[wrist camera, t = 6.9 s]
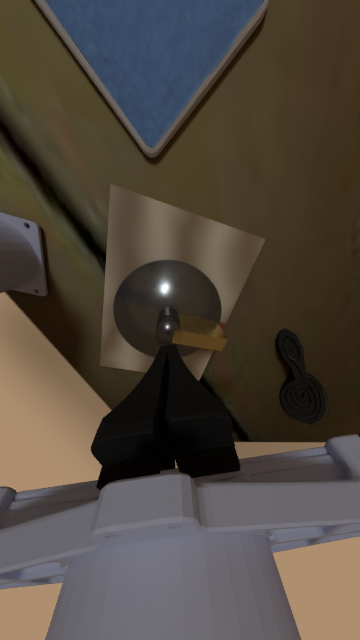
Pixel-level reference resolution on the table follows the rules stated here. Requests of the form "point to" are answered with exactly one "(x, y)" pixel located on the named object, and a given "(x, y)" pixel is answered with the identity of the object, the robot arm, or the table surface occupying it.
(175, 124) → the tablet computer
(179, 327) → the dial
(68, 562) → the robot arm
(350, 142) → the table surface
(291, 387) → the hairbrush
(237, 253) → the dial board
